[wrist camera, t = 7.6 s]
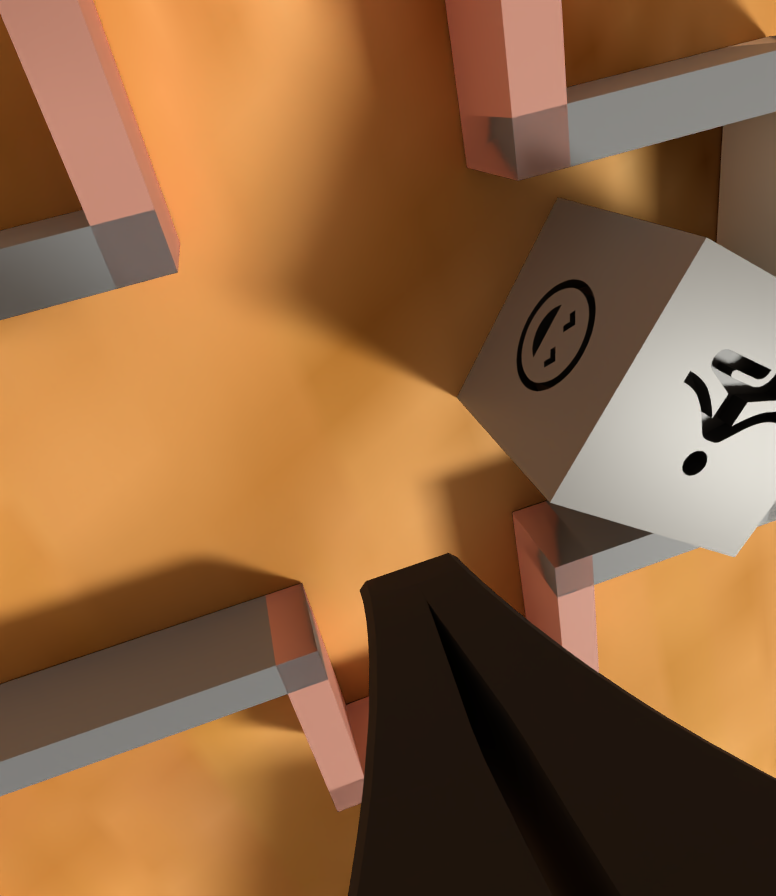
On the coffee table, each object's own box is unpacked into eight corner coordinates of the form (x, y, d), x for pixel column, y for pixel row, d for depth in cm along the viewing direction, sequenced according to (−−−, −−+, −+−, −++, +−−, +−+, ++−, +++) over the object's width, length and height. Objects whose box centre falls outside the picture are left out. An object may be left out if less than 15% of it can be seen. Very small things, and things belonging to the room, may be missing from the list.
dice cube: (710, 279, 17) (890, 342, 12) (607, 449, 18) (734, 557, 14) (555, 197, 15) (706, 237, 10) (455, 396, 16) (549, 502, 12)
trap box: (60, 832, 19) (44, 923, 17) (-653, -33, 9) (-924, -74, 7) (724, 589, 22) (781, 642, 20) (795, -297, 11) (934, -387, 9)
